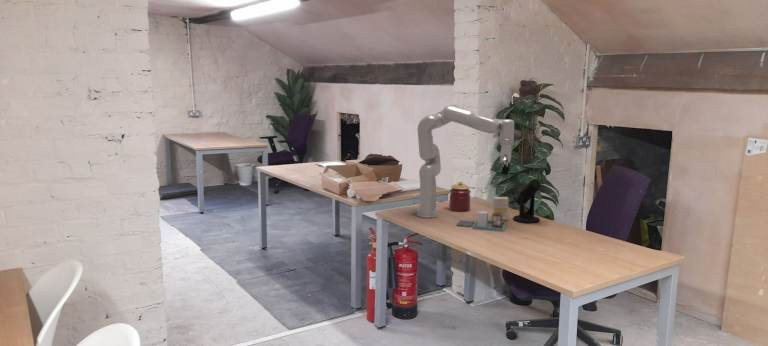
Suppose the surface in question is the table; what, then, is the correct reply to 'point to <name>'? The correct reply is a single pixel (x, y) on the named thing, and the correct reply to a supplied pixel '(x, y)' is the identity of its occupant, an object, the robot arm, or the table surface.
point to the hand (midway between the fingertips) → (505, 172)
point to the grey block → (482, 218)
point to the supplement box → (501, 206)
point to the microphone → (523, 198)
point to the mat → (465, 223)
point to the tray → (489, 227)
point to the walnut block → (497, 220)
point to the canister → (460, 197)
